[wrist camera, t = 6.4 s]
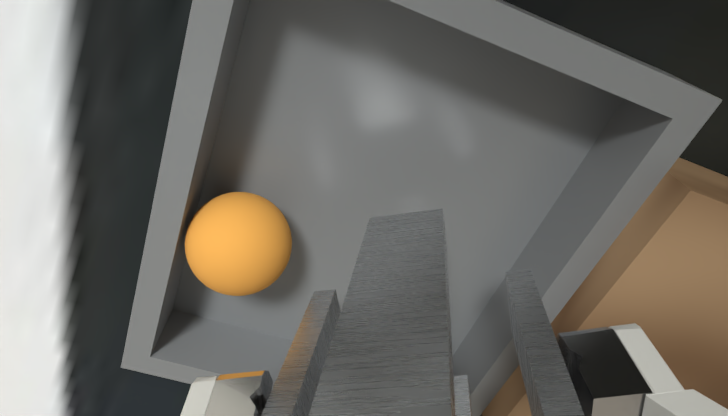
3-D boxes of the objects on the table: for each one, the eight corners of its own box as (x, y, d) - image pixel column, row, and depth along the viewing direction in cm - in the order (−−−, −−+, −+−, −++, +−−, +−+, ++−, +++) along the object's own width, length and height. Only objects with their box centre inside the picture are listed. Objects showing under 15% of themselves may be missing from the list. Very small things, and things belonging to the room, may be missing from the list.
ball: (295, 217, 13) (253, 156, 15) (184, 272, 12) (155, 200, 14) (318, 283, 15) (279, 222, 17) (224, 334, 14) (195, 264, 16)
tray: (242, -114, 11) (216, -122, 9) (665, 71, 14) (722, 99, 12) (149, 313, 18) (120, 367, 16) (445, 390, 20) (456, 446, 18)
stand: (621, 134, 15) (690, 190, 12) (847, 224, 16) (957, 293, 13) (467, 358, 19) (488, 439, 16) (655, 409, 21) (706, 491, 18)
